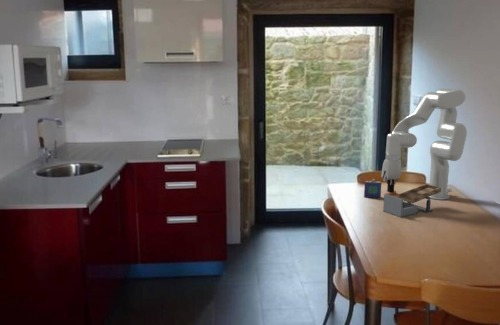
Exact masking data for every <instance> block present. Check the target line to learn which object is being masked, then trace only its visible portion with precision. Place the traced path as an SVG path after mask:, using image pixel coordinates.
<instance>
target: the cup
mask: <svg viewBox="0 0 500 325" xmlns="http://www.w3.org/2000/svg"><path fill="white" fill-rule="evenodd" d="M412 204H413V203H411V204H409V203H407V201H404V200H403V199H400V198H396V197H393V196H390V195H387V194H385V193H384V194H383V208H382V209H383V210H382V211H383V212H384V213H386V212H387V213H388V214H389V213H390V214H389V215H392V214H393V216H395V215H396V217H397V218H398V217H399V218H404V217H409V216H414V215H417V214H418V210H417V207H418V206H419V205H418V206H416V205H417V204H414V205H412Z"/></svg>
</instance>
